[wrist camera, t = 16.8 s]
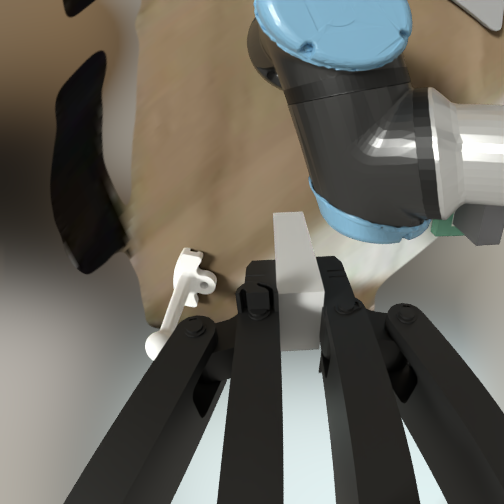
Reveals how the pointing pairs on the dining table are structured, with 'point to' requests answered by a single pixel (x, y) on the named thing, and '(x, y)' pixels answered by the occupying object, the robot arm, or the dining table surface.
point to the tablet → (484, 11)
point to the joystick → (182, 296)
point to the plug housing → (480, 223)
